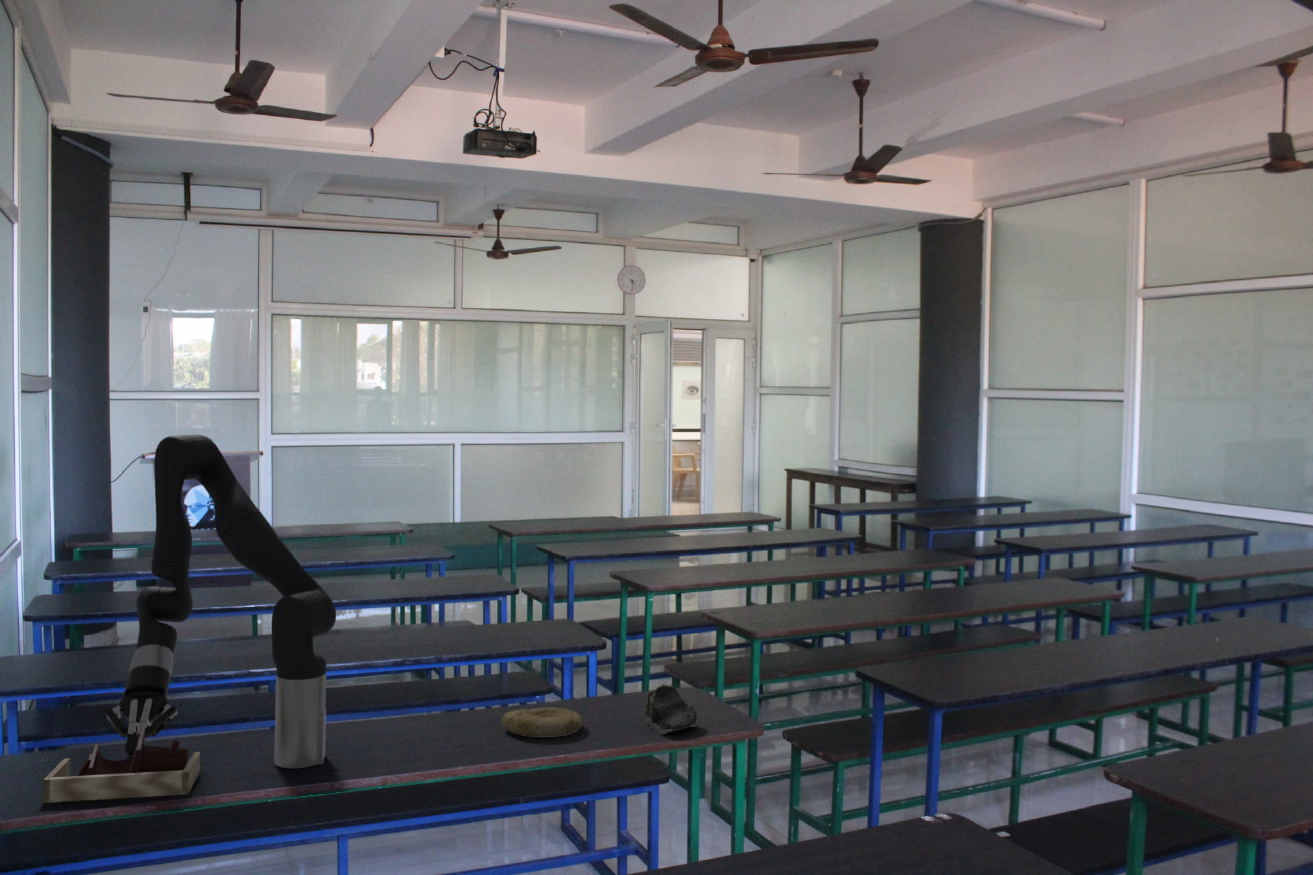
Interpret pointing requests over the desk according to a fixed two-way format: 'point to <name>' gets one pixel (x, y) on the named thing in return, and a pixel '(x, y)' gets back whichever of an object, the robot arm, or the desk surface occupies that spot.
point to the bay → (118, 783)
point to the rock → (669, 709)
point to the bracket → (138, 760)
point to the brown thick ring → (542, 721)
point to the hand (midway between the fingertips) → (132, 755)
